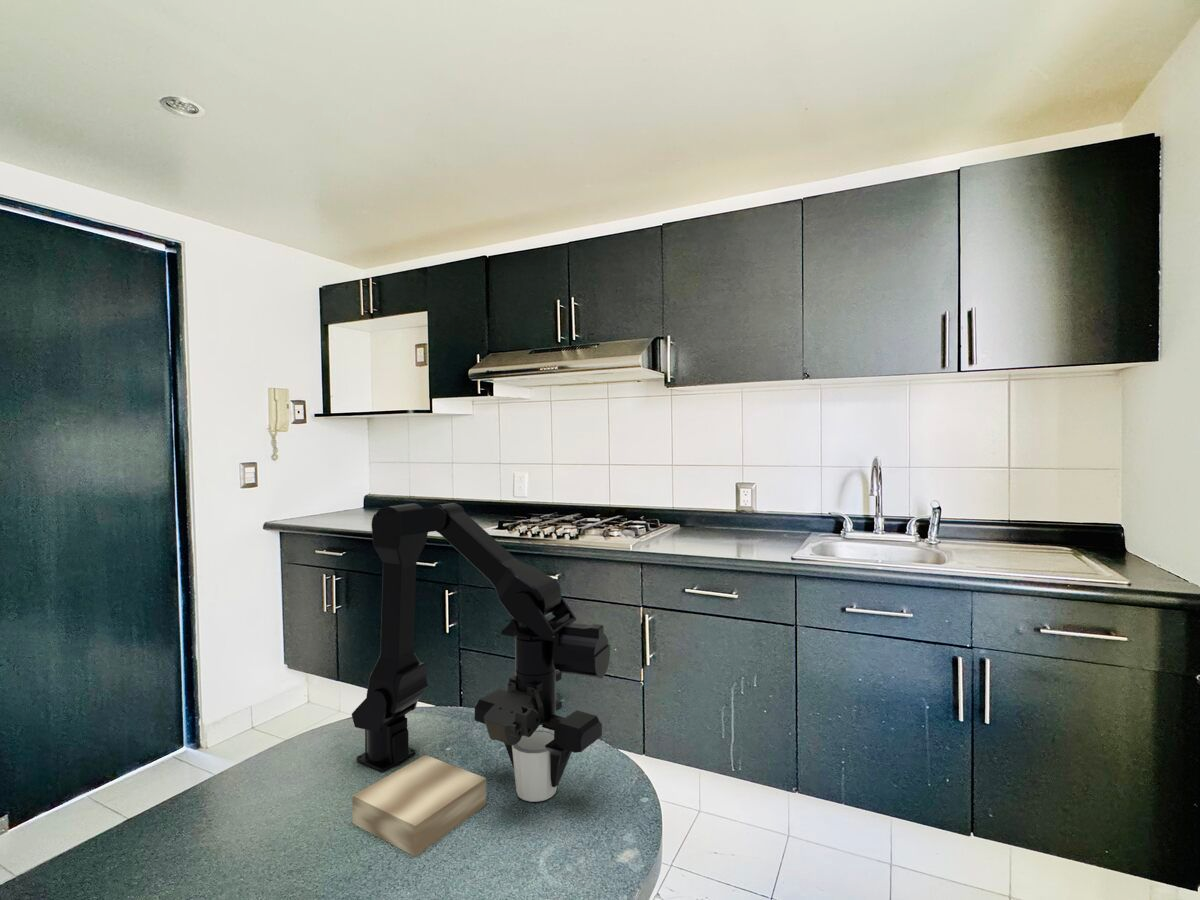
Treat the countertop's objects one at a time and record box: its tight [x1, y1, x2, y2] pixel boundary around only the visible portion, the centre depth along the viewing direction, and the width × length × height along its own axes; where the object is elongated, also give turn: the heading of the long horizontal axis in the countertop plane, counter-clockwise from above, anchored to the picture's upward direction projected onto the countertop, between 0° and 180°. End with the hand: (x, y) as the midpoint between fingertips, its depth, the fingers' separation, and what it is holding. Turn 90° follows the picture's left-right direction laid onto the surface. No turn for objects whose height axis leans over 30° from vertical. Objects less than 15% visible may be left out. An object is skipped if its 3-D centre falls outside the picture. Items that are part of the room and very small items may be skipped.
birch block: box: [351, 754, 487, 857], centre depth 78 cm, size 12×12×4 cm
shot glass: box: [512, 729, 558, 803], centre depth 83 cm, size 7×7×7 cm
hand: (536, 778), depth 83 cm, fingers closed on shot glass, 6 cm apart
